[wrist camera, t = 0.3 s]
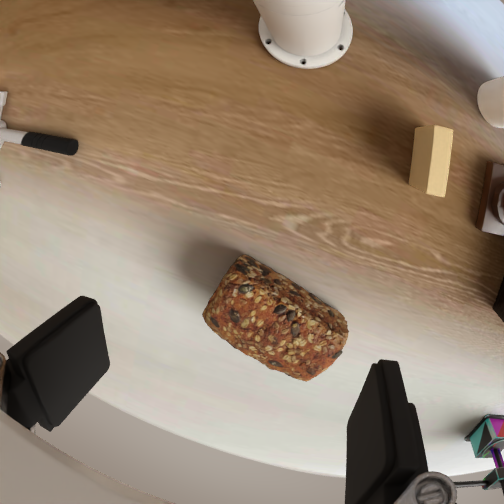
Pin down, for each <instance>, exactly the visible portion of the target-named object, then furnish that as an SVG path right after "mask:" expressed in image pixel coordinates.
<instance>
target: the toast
mask: <svg viewBox="0 0 504 504" xmlns="http://www.w3.org/2000/svg"><path fill="white" fill-rule="evenodd" d="M452 138H453V129H449V128H445V127H442V126H438V125H430V126H423V127H416V128H415V135H414V145H413V154H412V162H411V170H410V177H409V185H410V186H412V187H414V188H416V189H418V190H420V191H422V192H424V193H426V194H430V195H435V196H440V197H445V192H446V186H447V179H448V172H449V165H450V157H451V148H452Z"/></svg>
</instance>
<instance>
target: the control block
mask: <svg viewBox="0 0 504 504" xmlns="http://www.w3.org/2000/svg"><path fill="white" fill-rule="evenodd" d="M476 228H478V229H479V230H481V231H483V232H488V233H492V234H497V235H501V236H504V165H501V164H498V163H494V162H489V161H487V164H486V172H485V179H484V185H483V191H482V197H481V203H480V208H479V213H478V218H477V223H476Z"/></svg>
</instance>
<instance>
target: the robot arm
mask: <svg viewBox="0 0 504 504" xmlns="http://www.w3.org/2000/svg"><path fill="white" fill-rule="evenodd" d="M345 1H346V0H253V2H254V3H255V5H256V7H257V9H258V11H259V13H260V14H261V16H260V20H259V34H260V38H261V41H262V43H263V45H264V46H265V48H266V49H267V51H268V52H269V53H270V54H271V55H272V56H273V57H274V58H276V59H277V60H279V61H280V62H282V63H284V64H286V65H289V66H292V67H296V68H302V69H315V68H320V67H324V66H327V65H329V64H332V63H333V62H335V61H337V60H338V59H339V58H340V57H341V56H343V55H344V54H345V52H346V51H347V49H348V48H349V45H350V43H351V40H352V35H353V27H352V22H351V19H350V17H349V15H348V13H347V11H346V10H345V9H344V8H345ZM268 42H271V44H268ZM339 48H342V50H339ZM302 62H305V64H304V65H303V64H302ZM7 354H8V356H9V359H8V360H6V359H5V357H4V355H3V354H1V353H0V504H175V503H172V502H169V501H166V500H163V499H160V498H158V497H155V496H153V495H150V494H148V493H145V492H142V491H140V490H138V489H135V488H133V487H131V486H128V485H126V484H124V483H122V482H119V481H117V480H115V479H113V478H111V477H109V476H107V475H105V474H102V473H101V472H99V471H97V470H95V469H93V468H91V467H89V466H87V465H85V464H83V463H82V462H80V461H78V460H76V459H74V458H73V457H71V456H69V455H67V454H66V453H64V452H62V451H60V450H59V449H57V448H55V447H54V446H52V445H51V444H49V443H48V442H46V441H44V440H43V439H41V438H40V437H38V436H37V435H35V424H36V423H37V422H38V423H39V424H40V426H42V427H43V428H45V429H47V430H48V431H51V430H52V429H53V428H54V427H56V426H59V425H60V424H61V423H62V422H63V420H64V419H65V418H66V417H67V416H68V415H69V414H70V412H71V411H72V410H73V409H74V408H75V407H76V406H77V404H78V403H79V402H80V401H81V400H82V399H83V398H84V396H85V395H86V394H87V393H88V392H89V391H90V390H91V389H92V387H93V386H94V385H95V384H96V383H97V382H98V381H99V380H100V378H101V377H102V376H103V375H104V374H105V373H106V372H107V370H108V369H109V366H110V361H109V356H108V351H107V345H106V340H105V335H104V329H103V323H102V316H101V310H100V306H99V305H98V304H97V301H96V300H94V299H92V298H89V297H85V296H80V297H78V298H77V299H75V300H74V301H72V302H71V303H70V304H68V305H67V306H66V307H64V308H63V309H61V310H60V311H59V312H57V313H56V314H55V315H53V316H52V317H51V318H49V319H48V320H47V321H45V322H44V323H43V324H41V325H40V326H39V327H37V328H36V329H35V330H33V331H32V332H31V333H29V334H28V335H27V336H25V337H24V338H23V339H21V340H20V341H19V342H18V343H16V344H15V345H14V346H12V347H11V348H10V349H9V350H7ZM456 499H457V490H456V486H455V484H454V483H453V482H452V480H451V479H450V478H449V477H447V476H446V475H444V474H442V473H439V472H428V466H427V460H426V455H425V449H424V444H423V439H422V434H421V430H420V425H419V421H418V416H417V412H416V408H415V405H414V404H413V403H408V400H407V396H406V392H405V387H404V383H403V379H402V375H401V371H400V367H399V364H398V362H397V361H391V360H382V359H381V360H379V362H378V364H376V363H373V364H372V366H371V368H370V371H369V373H368V376H367V378H366V381H365V383H364V386H363V388H362V391H361V393H360V395H359V398H358V400H357V402H356V404H355V407H354V409H353V411H352V413H351V416H350V418H349V420H348V424H347V463H346V491H345V504H457V503H455V502H456Z"/></svg>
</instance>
